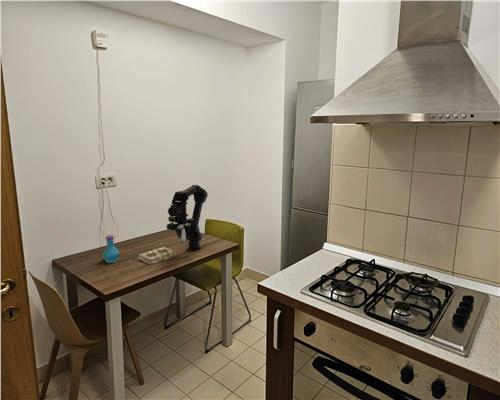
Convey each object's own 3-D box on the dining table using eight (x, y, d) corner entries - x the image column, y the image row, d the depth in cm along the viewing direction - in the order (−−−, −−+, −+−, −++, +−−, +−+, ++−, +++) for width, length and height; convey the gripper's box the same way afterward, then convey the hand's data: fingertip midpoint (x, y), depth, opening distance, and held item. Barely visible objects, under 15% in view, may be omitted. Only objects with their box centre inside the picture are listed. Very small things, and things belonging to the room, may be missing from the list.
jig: (163, 251, 219) (163, 246, 218) (175, 255, 211) (175, 251, 210) (138, 259, 205) (138, 254, 204) (150, 264, 198) (150, 259, 197)
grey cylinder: (183, 241, 211) (182, 227, 209) (187, 242, 209) (186, 228, 207) (177, 242, 208) (177, 228, 206) (182, 244, 206) (181, 229, 204)
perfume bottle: (104, 264, 197) (101, 239, 194) (102, 259, 205) (100, 235, 202) (121, 261, 202) (119, 237, 198) (119, 256, 210) (117, 232, 206)
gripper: (184, 208, 217) (185, 231, 220) (160, 213, 203) (161, 238, 206) (196, 210, 210) (197, 235, 213) (172, 216, 196) (173, 242, 199)
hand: (182, 237), depth 208 cm, fingers closed on grey cylinder, 4 cm apart
